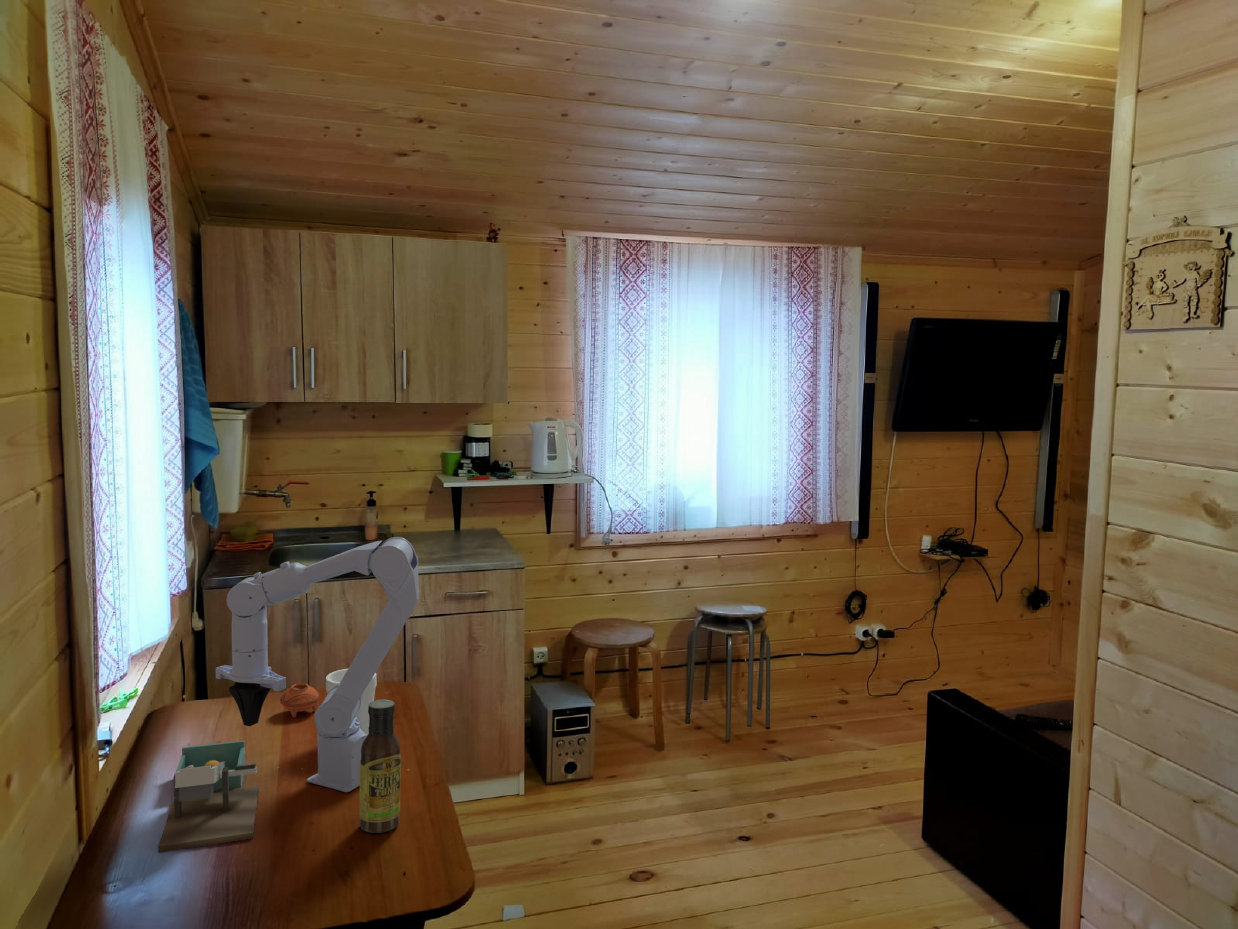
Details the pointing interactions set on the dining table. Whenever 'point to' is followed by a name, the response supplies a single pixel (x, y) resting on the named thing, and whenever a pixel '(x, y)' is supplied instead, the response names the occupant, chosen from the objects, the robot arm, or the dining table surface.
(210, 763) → the ball
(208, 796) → the tray
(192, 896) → the dining table surface
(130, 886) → the dining table surface
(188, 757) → the teal open box
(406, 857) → the dining table surface
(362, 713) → the foam cup
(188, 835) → the stand
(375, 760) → the sauce bottle
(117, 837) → the dining table surface
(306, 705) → the pot
